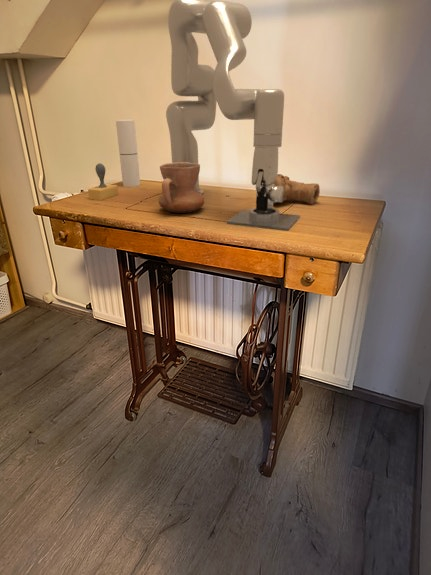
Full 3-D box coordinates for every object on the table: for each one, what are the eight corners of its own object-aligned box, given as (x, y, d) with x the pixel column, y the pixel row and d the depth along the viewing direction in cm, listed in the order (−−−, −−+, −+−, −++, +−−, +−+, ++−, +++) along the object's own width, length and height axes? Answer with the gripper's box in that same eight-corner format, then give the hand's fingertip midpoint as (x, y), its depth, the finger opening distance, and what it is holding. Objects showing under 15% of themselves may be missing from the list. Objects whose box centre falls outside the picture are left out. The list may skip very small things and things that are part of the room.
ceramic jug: (178, 202, 135) (176, 159, 129) (214, 206, 129) (214, 162, 122) (145, 214, 121) (141, 167, 115) (184, 220, 114) (182, 170, 108)
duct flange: (226, 223, 111) (226, 213, 110) (243, 211, 123) (243, 202, 121) (288, 230, 105) (289, 220, 103) (300, 217, 116) (300, 208, 115)
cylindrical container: (120, 186, 160) (112, 120, 149) (126, 183, 166) (119, 119, 156) (136, 187, 159) (130, 120, 148) (142, 183, 165) (136, 119, 154)
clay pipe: (267, 207, 142) (249, 203, 129) (271, 177, 140) (254, 170, 127) (317, 212, 133) (304, 208, 120) (323, 180, 131) (309, 172, 118)
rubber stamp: (101, 200, 138) (96, 165, 133) (88, 199, 141) (83, 164, 136) (119, 195, 147) (115, 161, 141) (106, 193, 149) (102, 161, 144)
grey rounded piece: (253, 215, 112) (254, 185, 108) (259, 211, 116) (260, 182, 112) (278, 217, 109) (280, 186, 105) (282, 213, 113) (284, 183, 109)
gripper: (263, 137, 112) (261, 200, 120) (243, 143, 99) (242, 214, 106) (289, 138, 110) (284, 202, 118) (272, 144, 96) (268, 216, 104)
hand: (264, 207), depth 112 cm, fingers closed on grey rounded piece, 4 cm apart
